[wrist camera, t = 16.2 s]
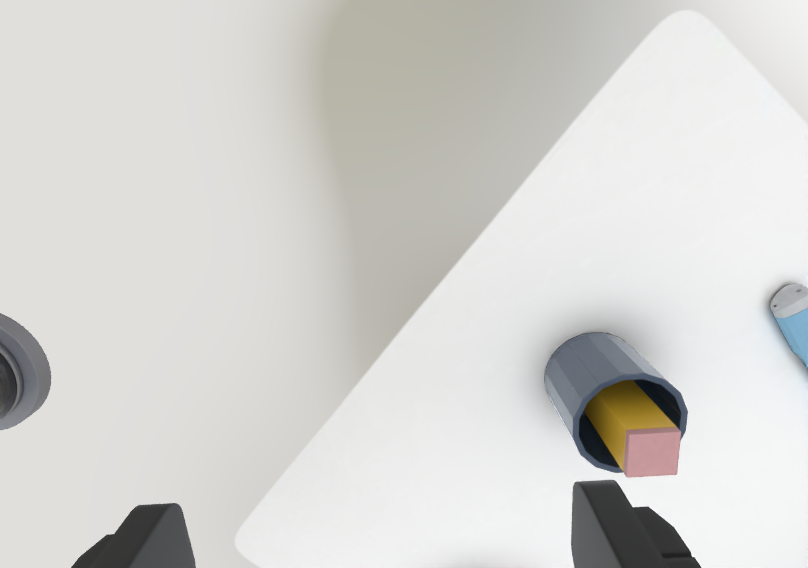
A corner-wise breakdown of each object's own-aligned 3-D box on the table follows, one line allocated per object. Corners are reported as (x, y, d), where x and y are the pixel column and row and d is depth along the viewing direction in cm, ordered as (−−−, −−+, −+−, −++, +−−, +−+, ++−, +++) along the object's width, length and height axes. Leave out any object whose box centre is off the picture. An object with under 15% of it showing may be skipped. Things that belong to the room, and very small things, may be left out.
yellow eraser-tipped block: (574, 397, 44) (626, 477, 34) (575, 362, 43) (629, 434, 33) (612, 394, 44) (677, 475, 34) (614, 360, 43) (681, 431, 33)
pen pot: (544, 419, 46) (571, 475, 38) (544, 335, 43) (574, 377, 35) (635, 413, 45) (681, 469, 38) (641, 329, 43) (692, 370, 35)
